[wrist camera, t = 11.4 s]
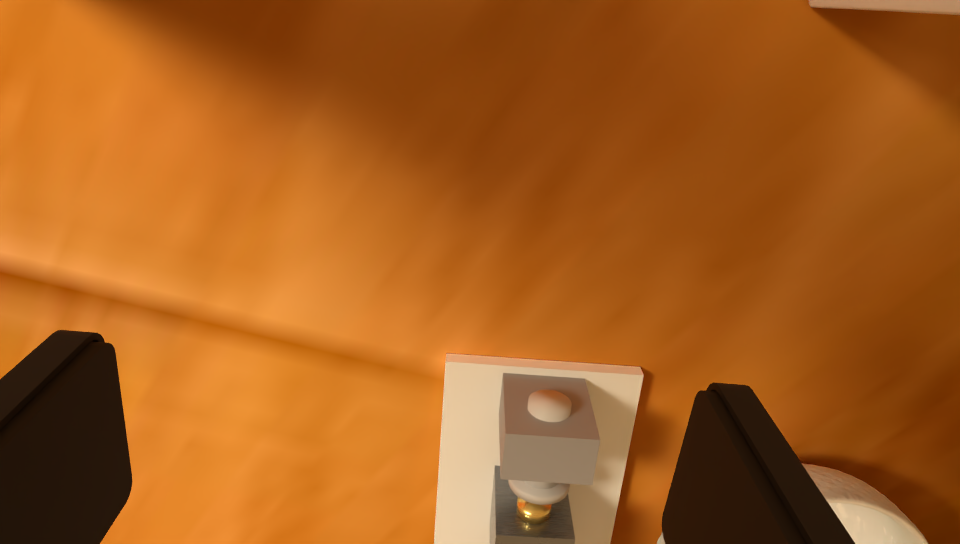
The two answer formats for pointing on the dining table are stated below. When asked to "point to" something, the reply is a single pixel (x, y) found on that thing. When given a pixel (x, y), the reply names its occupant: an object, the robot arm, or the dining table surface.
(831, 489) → the cereal bowl
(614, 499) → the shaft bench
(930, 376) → the dining table surface
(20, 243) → the dining table surface
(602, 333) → the dining table surface
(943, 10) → the skincare box
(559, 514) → the joint block
